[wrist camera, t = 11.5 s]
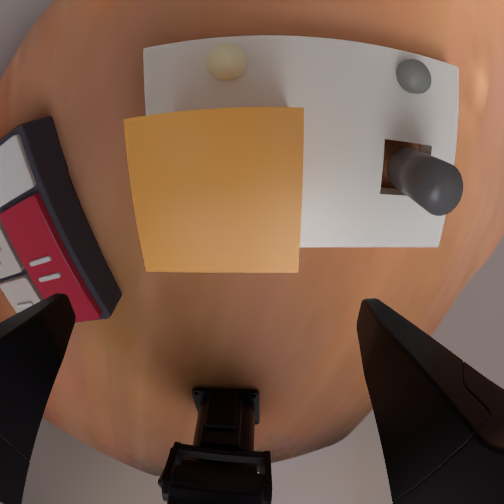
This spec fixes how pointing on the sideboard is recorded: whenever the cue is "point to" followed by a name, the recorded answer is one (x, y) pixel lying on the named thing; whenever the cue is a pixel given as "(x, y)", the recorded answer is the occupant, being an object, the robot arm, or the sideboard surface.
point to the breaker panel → (326, 121)
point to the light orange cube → (218, 188)
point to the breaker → (426, 180)
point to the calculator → (47, 229)
